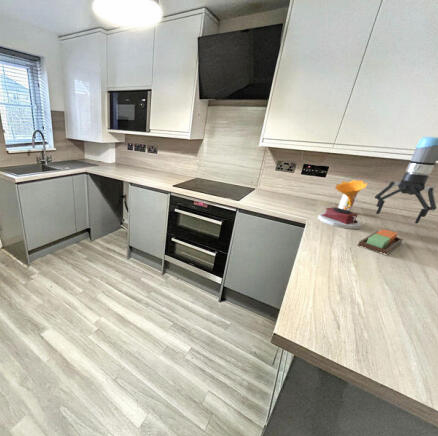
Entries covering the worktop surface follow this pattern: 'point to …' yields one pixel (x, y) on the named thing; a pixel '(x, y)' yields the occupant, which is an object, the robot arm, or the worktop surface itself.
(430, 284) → the worktop surface
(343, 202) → the aerosol can
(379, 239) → the pad
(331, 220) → the gramophone
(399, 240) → the frame
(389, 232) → the pad
